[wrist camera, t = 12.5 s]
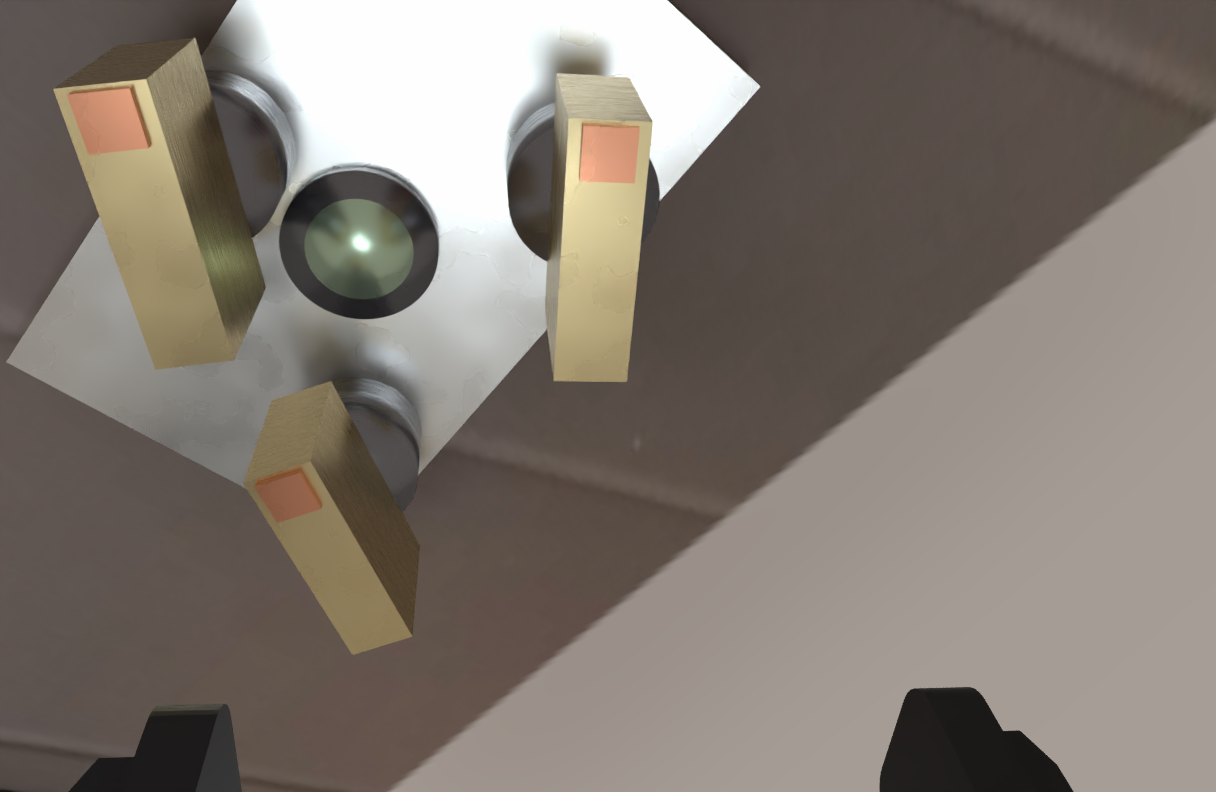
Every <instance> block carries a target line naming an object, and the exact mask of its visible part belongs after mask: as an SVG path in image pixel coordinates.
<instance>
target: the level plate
mask: <svg viewBox="0 0 1216 792" xmlns="http://www.w3.org/2000/svg"><path fill="white" fill-rule="evenodd" d="M201 59H202V63H203V66H204V69H213V70H221V71H225V72H229V73H232V74H235V75H238V76H240V77H243V78H245V79H247V80H249V81H250V82H252V83H254V84H255V85H257V86H258V87H260V88H261V89H262V90H263V91H265V92H266V93H267V94H268V95H269V96H270V97H271V98H272V99H273V100H274V101H275V102H276V104H277V105H278V106H279V107H280V109H281V110H282V112H283V113H284V115H285V117H286V118H287V120H288V122H289V125H290V127H291V130H292V133H293V136H294V141H295V146H296V160H295V167H294V171H293V175H292V177H291V179H290V182H289V184H288V186H287V188H286V190H285V192H284V194H283V196H282V198H281V200H280V202H279V204H278V206H277V208H276V210H275V212H274V214H273V216H272V217H271V219H270V221H269V222H268V224H267V225H266V226H265V227H264V228H263V229H262V230H261V231H260V232H259V233H258V234H257V235H256V236H254V237H253V238H252V239H253V243H254V247H255V250H256V254H257V257H258V261H259V264H260V268H261V271H262V275H263V278H264V282H265V285H266V289H265V292H264V294H263V296H262V298H261V301H260V303H259V305H258V308H257V310H256V312H255V314H254V317H253V319H252V321H251V324H250V326H249V328H248V330H247V333H246V335H245V337H244V339H243V342H242V344H241V346H240V349H239V351H238V353H237V355H236V358H235V360H233V361H225V362H216V363H208V364H199V365H191V366H183V367H174V368H166V369H158V370H155V367H154V365H153V362H152V359H151V356H150V354H149V351H148V348H147V345H146V343H145V340H144V337H143V334H142V332H141V329H140V326H139V323H138V321H137V318H136V315H135V312H134V310H133V307H132V304H131V301H130V299H129V296H128V293H127V290H126V288H125V285H124V282H123V279H122V277H121V274H120V271H119V268H118V266H117V263H116V260H115V257H114V255H113V252H112V249H111V246H110V244H109V241H108V238H107V235H106V233H105V230H104V227H103V224H102V222H101V219H100V216H99V218H98V219H97V221H96V222H95V224H94V225H93V227H92V229H91V230H90V232H89V233H88V235H87V236H86V238H85V240H84V241H83V243H82V244H81V246H80V247H79V249H78V250H77V252H76V254H75V255H74V257H73V258H72V260H71V261H70V263H69V265H68V266H67V268H66V269H65V271H64V272H63V274H62V276H61V277H60V279H59V280H58V282H57V283H56V285H55V287H54V288H53V290H52V291H51V293H50V294H49V296H48V298H47V299H46V301H45V302H44V304H43V305H42V307H41V308H40V310H39V312H38V313H37V315H36V316H35V318H34V319H33V321H32V323H31V324H30V326H29V327H28V329H27V330H26V332H25V334H24V335H23V337H22V338H21V340H20V341H19V343H18V345H17V346H16V348H15V349H14V351H13V352H12V354H11V356H10V357H9V359H8V360H7V363H9V364H11V365H13V366H15V367H16V368H18V369H20V370H22V371H24V372H26V373H28V374H30V375H32V376H33V377H35V378H37V379H39V380H41V381H43V382H45V383H47V384H49V385H51V386H52V387H54V388H56V389H58V390H60V391H62V392H64V393H66V394H68V395H69V396H71V397H73V398H75V399H77V400H79V401H81V402H83V403H85V404H87V405H88V406H90V407H92V408H94V409H96V410H98V411H100V412H102V413H104V414H105V415H107V416H109V417H111V418H113V419H115V420H117V421H119V422H121V423H123V424H124V425H126V426H128V427H130V428H132V429H134V430H136V431H138V432H140V433H141V434H143V435H145V436H147V437H149V438H151V439H153V440H155V441H157V442H159V443H160V444H162V445H164V446H166V447H168V448H170V449H172V450H174V451H176V452H177V453H179V454H181V455H183V456H185V457H187V458H189V459H191V460H193V461H194V462H196V463H198V464H200V465H202V466H204V467H206V468H208V469H210V470H212V471H213V472H215V473H217V474H219V475H221V476H223V477H225V478H227V479H229V480H230V481H232V482H234V483H236V484H238V485H240V486H242V487H244V488H246V487H245V486H244V484H243V482H244V479H245V476H246V473H247V470H248V467H249V465H250V462H251V459H252V456H253V453H254V450H255V447H256V444H257V441H258V439H259V436H260V433H261V430H262V427H263V424H264V421H265V418H266V416H267V413H268V410H269V407H270V404H271V401H272V400H274V399H277V398H280V397H283V396H286V395H289V394H293V393H296V392H299V391H302V390H305V389H308V388H311V387H314V386H317V385H320V384H323V383H326V382H329V381H333V380H336V379H341V378H348V377H359V378H368V379H373V380H376V381H380V382H382V383H385V384H387V385H389V386H391V387H393V388H394V389H396V390H398V391H399V392H400V393H402V394H403V395H404V396H405V397H406V398H407V399H408V400H409V401H410V402H411V404H412V405H413V406H414V408H415V410H416V411H417V413H418V416H419V418H420V422H421V427H422V439H421V449H420V460H419V471H418V475H419V474H420V473H421V471H422V470H423V469H424V468H425V467H426V466H427V465H428V463H429V462H430V461H431V460H432V459H433V458H434V457H435V455H436V454H437V453H438V452H439V451H440V450H441V449H442V448H443V446H444V445H445V444H446V443H447V442H448V441H449V440H450V438H451V437H452V436H453V435H454V434H455V433H456V432H457V431H458V429H459V428H460V427H461V426H462V425H463V424H464V423H465V421H466V420H467V419H468V418H469V417H470V416H471V415H472V413H473V412H474V411H475V410H476V409H477V408H478V407H479V406H480V404H481V403H482V402H483V401H484V400H485V399H486V398H487V396H488V395H489V394H490V393H491V392H492V391H493V390H494V389H495V387H496V386H497V385H498V384H499V383H500V382H501V381H502V379H503V378H504V377H505V376H506V375H507V374H508V373H509V371H510V370H511V369H512V368H513V367H514V366H515V365H516V364H517V362H518V361H519V360H520V359H521V358H522V357H523V356H524V354H525V353H526V352H527V351H528V350H529V349H530V348H531V347H532V345H533V344H534V343H535V342H536V341H537V340H538V339H539V337H540V336H541V335H542V334H543V333H544V332H545V331H546V329H547V323H546V315H545V293H546V273H547V261H545V260H543V259H541V258H540V257H538V256H537V255H535V254H534V253H533V252H532V251H531V250H530V249H529V248H528V247H527V246H526V245H525V244H524V243H523V242H522V240H521V239H520V237H519V236H518V234H517V232H516V230H515V228H514V226H513V223H512V220H511V217H510V213H509V207H508V193H507V179H506V161H507V154H508V150H509V147H510V144H511V142H512V139H513V137H514V136H515V134H516V132H517V130H518V129H519V128H520V126H521V125H522V124H523V123H524V122H525V121H526V120H527V118H528V117H530V116H531V115H532V114H533V113H535V112H536V111H537V110H539V109H541V108H542V107H544V106H546V105H549V104H551V103H553V102H555V94H556V74H557V73H561V74H580V75H598V76H616V77H629V78H630V80H631V82H632V84H633V85H634V87H635V89H636V91H637V93H638V95H639V97H640V99H641V101H642V102H643V104H644V106H645V108H646V110H647V112H648V114H649V116H650V117H651V119H652V121H653V126H652V136H651V146H650V156H649V157H650V159H651V161H652V164H653V166H654V168H655V171H656V174H657V177H658V182H659V189H660V200H661V199H662V198H663V197H664V196H665V194H666V193H667V192H668V191H669V190H670V189H671V188H672V186H673V185H674V184H675V183H676V182H677V181H678V180H679V179H680V177H681V176H682V175H683V174H684V173H685V172H686V171H687V169H688V168H689V167H690V166H691V165H692V164H693V163H694V161H695V160H696V159H697V158H698V157H699V156H700V155H701V154H702V152H703V151H704V150H705V149H706V148H707V147H708V146H709V144H710V143H711V142H712V141H713V140H714V139H715V138H716V137H717V135H718V134H719V133H720V132H721V131H722V130H723V129H724V127H725V126H726V125H727V124H728V123H729V122H730V121H731V119H732V118H733V117H734V116H735V115H736V114H737V113H738V112H739V110H740V109H741V108H742V107H743V106H744V105H745V104H746V102H747V101H748V100H749V99H750V98H751V97H752V96H753V95H754V93H755V92H756V91H757V90H758V89H759V88H760V86H759V85H758V84H757V83H756V82H755V80H754V79H753V78H752V77H751V76H750V75H749V74H748V73H747V72H746V71H744V70H743V69H742V68H741V67H740V66H739V65H738V64H737V63H736V62H735V61H734V60H733V59H731V58H730V57H729V56H728V55H727V54H726V53H725V52H724V51H723V50H722V49H721V48H720V47H718V46H717V45H716V44H715V43H714V42H713V41H712V40H711V39H710V38H709V37H708V36H707V35H706V34H704V33H703V32H702V31H701V30H700V29H699V28H698V27H697V26H696V25H695V24H694V23H693V22H691V21H690V20H689V19H688V18H687V17H686V16H685V15H684V14H683V13H682V12H681V11H680V10H678V9H677V8H676V7H675V6H674V5H673V4H672V3H671V2H670V1H669V0H237V1H236V3H235V4H234V6H233V8H232V9H231V11H230V12H229V14H228V15H227V17H226V18H225V20H224V22H223V23H222V25H221V26H220V28H219V29H218V31H217V33H216V34H215V36H214V37H213V39H212V40H211V42H210V44H209V45H208V47H207V48H206V50H205V51H204V53H203V55H202V56H201Z"/></svg>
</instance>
